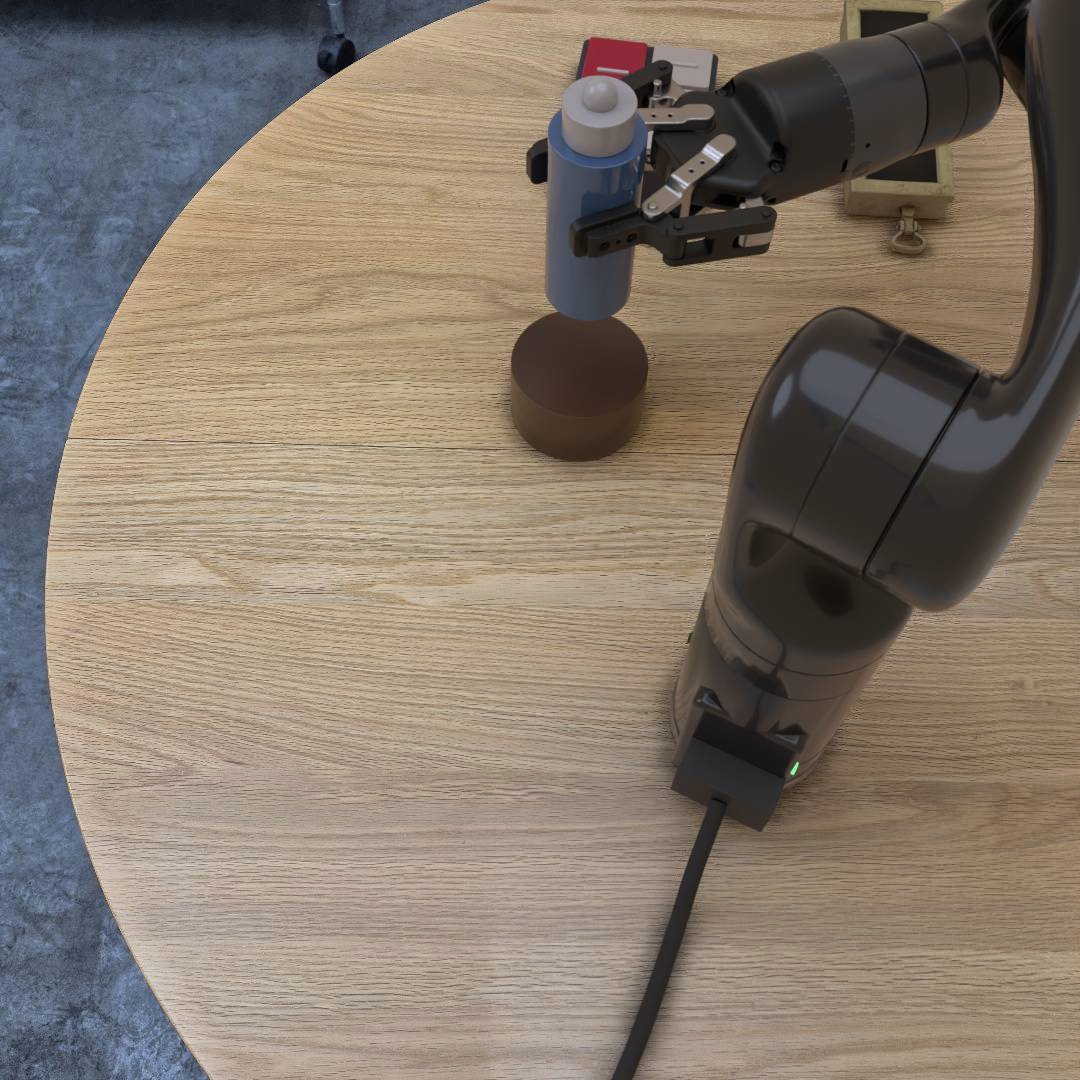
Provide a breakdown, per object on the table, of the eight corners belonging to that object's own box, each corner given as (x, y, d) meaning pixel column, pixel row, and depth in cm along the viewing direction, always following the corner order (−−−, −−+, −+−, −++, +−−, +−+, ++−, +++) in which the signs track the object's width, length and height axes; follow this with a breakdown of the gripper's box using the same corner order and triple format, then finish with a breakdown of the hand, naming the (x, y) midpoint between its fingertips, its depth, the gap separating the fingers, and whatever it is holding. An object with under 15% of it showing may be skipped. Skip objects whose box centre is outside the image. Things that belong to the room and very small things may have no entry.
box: (924, 41, 100) (942, -5, 96) (946, 273, 93) (967, 236, 88) (824, 38, 100) (838, -8, 96) (838, 271, 93) (854, 233, 88)
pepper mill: (608, 333, 71) (627, 131, 58) (529, 302, 72) (530, 96, 59) (644, 273, 73) (670, 65, 60) (567, 244, 74) (576, 33, 61)
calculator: (720, 45, 96) (706, 169, 88) (712, 91, 100) (697, 214, 92) (584, 29, 97) (557, 151, 89) (581, 75, 100) (555, 196, 92)
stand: (608, 481, 80) (613, 438, 75) (488, 430, 82) (486, 385, 77) (662, 384, 84) (670, 338, 80) (546, 338, 86) (548, 290, 81)
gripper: (773, -15, 68) (497, 62, 65) (908, 151, 62) (610, 247, 59) (751, 92, 75) (500, 168, 71) (871, 252, 69) (601, 344, 65)
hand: (551, 203), depth 65 cm, fingers closed on pepper mill, 5 cm apart
